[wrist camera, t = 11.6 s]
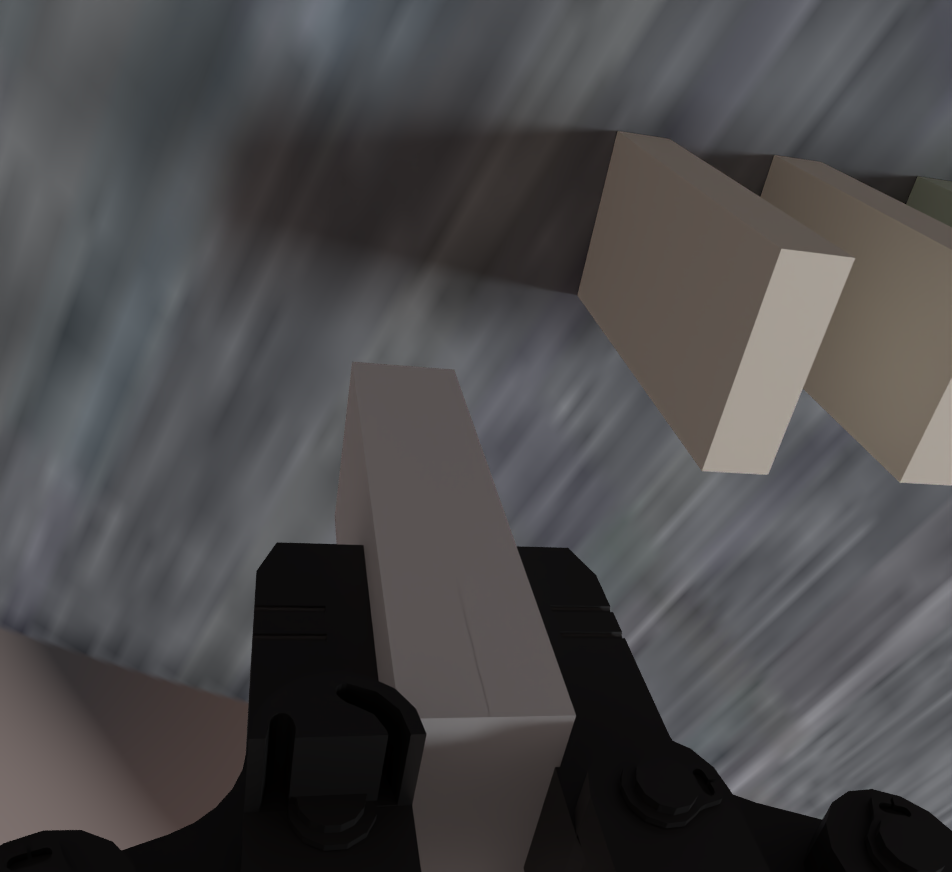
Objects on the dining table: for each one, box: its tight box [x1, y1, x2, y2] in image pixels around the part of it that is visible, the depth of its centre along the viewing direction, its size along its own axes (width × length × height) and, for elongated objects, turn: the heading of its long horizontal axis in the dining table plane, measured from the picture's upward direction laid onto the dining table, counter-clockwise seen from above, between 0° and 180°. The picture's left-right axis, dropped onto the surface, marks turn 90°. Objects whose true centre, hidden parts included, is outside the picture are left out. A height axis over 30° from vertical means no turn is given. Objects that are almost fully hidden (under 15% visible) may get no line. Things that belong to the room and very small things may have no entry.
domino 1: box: [578, 131, 855, 475], centre depth 22 cm, size 2×5×10 cm, turn 170°
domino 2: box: [760, 155, 952, 485], centre depth 23 cm, size 2×5×10 cm, turn 170°
